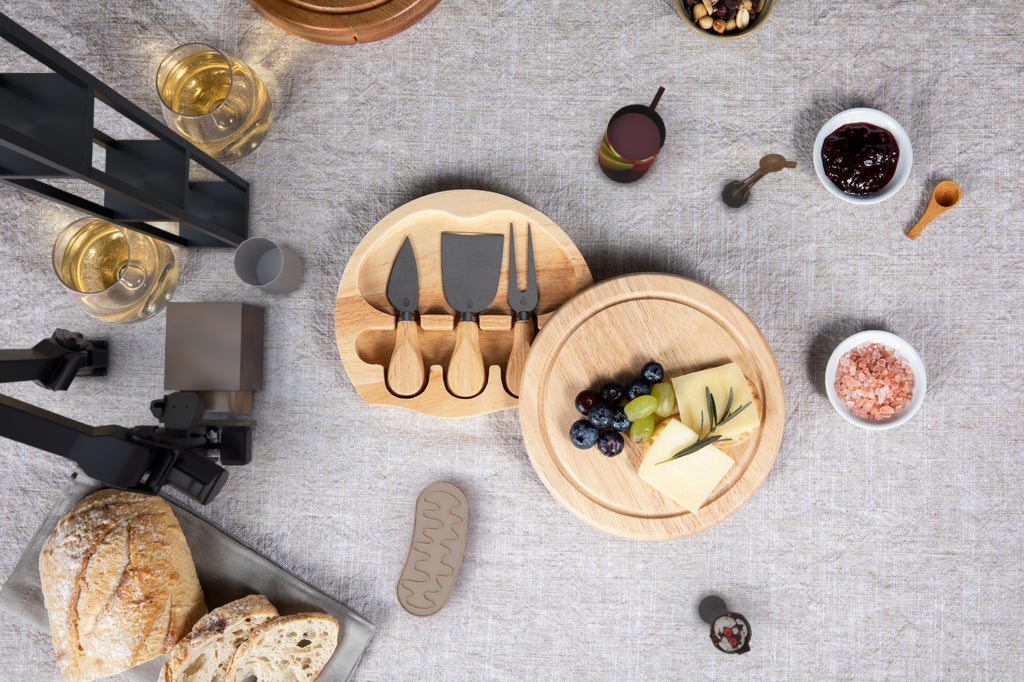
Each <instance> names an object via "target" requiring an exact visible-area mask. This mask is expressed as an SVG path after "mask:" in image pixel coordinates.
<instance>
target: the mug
mask: <svg viewBox="0 0 1024 682" xmlns="http://www.w3.org/2000/svg"><path fill="white" fill-rule="evenodd" d="M665 91H666V88H665V87H664V86H662V85H660V86H659V88H658V90H657V91H656V93H655V95H654V97H653V99H652V100H651V102H650V104H649V106H648V105H645V104H641V103H631V104H627V105H624V106H621V108H619V109H618V110H617V111H615V112H614V113H613V115H612V116H611V117H610V119H609V120H608V122H607V126H606V129H605V131H604V135H603V137H602V141H601V143H600V147H599V149H598V154H597V160H598V165H599V168H600V170H601V171H602V173H603V174H604V175H605V176H606V177H607V178H608V179H609V180H611V181H613V182H615V183H618V184H631V183H635V182H637V181H639V180H641V179H642V178H643V177H644V176H645V175H646V174H647V173H648V171H649V169H650V168H651V166H652V165H653V163H654V162H655V160H656V158H657V157H658V155H659V153H660V152H661V150H662V148H663V147H664V145H665V143H666V139H667V128H666V124H665V122H664V120H663V118H662V116H661V115H660V113H658V112H657V111H656V109H657V107H658V105H659V103H660V101H661V99H662V98H663V97H662V96H663V95H664V93H665Z"/></svg>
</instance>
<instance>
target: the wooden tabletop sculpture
mask: <svg viewBox="0 0 1024 682" xmlns="http://www.w3.org/2000/svg"><path fill="white" fill-rule="evenodd" d="M797 165H798V161H796V160H795V161H794V160H787V159H786V157H785V156H784V155H782V154H780V153H768V154H765V155H763V156H762V157H760V159H759V161H758V167H759V168H757V170H755V171H754V172H753V173H751V174H750V175H749V176H748V177H746V178H744V179H743V180H735V179H734V180H732V181H730V182H728V183H727V184H725V185H724V187H723V188H722V190H721V192H720V194H721V200H722V202H723V203H724V204H725V205H726V206H727V207H728V208H732V209H739V208H741V207H742V206H744V205H746V204H747V203H748V201H749V200H750V196H751V189H752V188H753V187H754V186H755V185H756V184H757V183H758V182H759V181H760V180H762V179H763V178H764V177H765V176H766V175H769V174H770V173H778V172H781V171H783V169H796V168H797Z"/></svg>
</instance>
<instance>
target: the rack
mask: <svg viewBox="0 0 1024 682" xmlns="http://www.w3.org/2000/svg"><path fill="white" fill-rule="evenodd" d="M0 38H2V39H3V40H5V41H6V42H8V43H9V44H11V45H13V46H14V47H16V48H17V49H18V50H21V51H22V52H23V53H25V54H27V55H28V56H30V57H31V58H33V59H34V60H35V61H37V62H39V63H41V64H42V65H44V67H47V68H48V69H50V70H51V71H53V72H0V184H3V185H6V186H9V187H11V188H14V189H17V190H20V191H22V192H25V193H28V194H31V195H33V196H36V197H39V198H41V199H43V200H47V201H49V202H53V203H55V204H58V205H60V206H64V207H67V208H70V209H72V210H75V211H76V212H77V211H78V212H81V213H83V214H86V215H88V216H92V217H95V218H96V219H100V220H102V221H105V222H107V223H111V224H113V225H116V226H119V227H121V228H124V229H127V230H131V231H133V232H135V233H138V234H141V235H144V236H147V237H150V238H152V239H154V240H158V241H160V242H164V243H165V244H169V245H172V246H174V247H177V248H179V249H215V250H217V249H219V250H220V249H221V250H222V249H223V250H224V249H225V250H226V249H228V250H229V249H231V250H234V249H236V250H237V248H238V247H239V246H240V245H241V243H242V242H244V241H246V240H248V239H249V217H250V216H249V214H250V213H249V210H250V182H248V181H247V180H245V179H244V178H243V177H241V176H240V175H239V174H237V173H235V172H234V171H233V170H231V168H228V167H227V166H225V165H224V164H222V163H221V162H220V161H218V160H216V159H215V158H214V157H212V156H211V155H210V154H208V153H207V152H205V150H202V149H201V148H200V147H198V146H196V145H195V144H194V143H192V142H191V141H189V140H188V139H187V138H185V137H183V136H182V135H180V134H178V133H177V132H176V131H174V130H173V129H172V128H170V127H169V126H167V125H166V124H164V123H163V122H161V121H160V120H159V119H157V118H156V117H154V116H153V115H152V114H150V113H149V112H147V111H145V110H144V109H143V108H142V107H140V106H138V105H137V104H136V103H134V102H132V101H131V100H129V98H127V97H125V96H123V95H122V94H121V93H119V92H118V91H116V90H115V89H114V88H113V87H111V86H109V85H108V84H107V83H105V82H104V81H102V80H101V79H99V78H98V77H96V76H95V75H94V74H92V73H91V72H89V71H87V70H86V69H85V68H83V67H82V66H80V65H79V64H77V63H76V62H74V61H73V60H71V59H70V58H69V57H67V56H66V55H65V54H63V53H61V52H60V51H58V50H57V49H56V48H55V47H53V46H51V45H50V44H48V43H47V42H46V41H44V40H43V39H41V38H39V37H38V36H36V35H35V34H33V32H31V31H30V30H28V29H26V27H24V26H22V25H21V24H19V23H17V22H16V21H15V20H13V18H12V17H11V18H10V17H9V16H8V15H6V14H5V13H3V12H2V11H0ZM95 99H96V100H98V101H100V102H102V103H103V104H105V105H106V106H107V107H109V108H111V109H112V110H114V111H115V112H117V113H119V114H120V115H122V116H124V117H125V118H126V119H128V120H129V121H131V122H132V123H134V124H135V125H137V126H139V127H140V128H142V129H143V130H145V131H146V132H148V133H150V134H151V135H153V136H154V137H156V138H158V139H116V138H114V137H112V136H111V135H109V134H107V133H105V132H103V130H100V129H98V128H97V127H95ZM94 145H97V146H98V147H101V148H102V149H104V150H105V161H104V165H105V166H104V171H103V170H101V169H99V168H96V167H94V166H93V157H94V156H93V153H94V152H93V151H94V149H93V148H94ZM191 160H192V161H193V162H195V163H196V164H198V165H200V166H201V167H203V168H205V169H206V170H207V171H208V172H211V173H212V174H214V175H215V176H217V177H218V178H220V179H221V180H190V169H191V167H190V163H191ZM39 179H40V180H39ZM41 180H81V181H84V182H86V183H88V184H90V185H92V186H95V187H97V188H98V189H101V190H103V192H104V193H103V205H102V204H99V203H96V202H94V201H92V200H89V199H88V198H87V199H86V198H84V197H81V196H79V195H76V194H74V193H71V192H69V191H66V190H64V189H61V188H58V187H56V186H54V185H51V184H49V183H46V182H44V181H41ZM150 223H179V225H178V235H177V234H175V233H173V232H170V231H168V230H165V229H162V228H160V227H158V226H154V225H153V224H150Z"/></svg>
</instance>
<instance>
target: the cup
mask: <svg viewBox="0 0 1024 682" xmlns="http://www.w3.org/2000/svg"><path fill="white" fill-rule="evenodd" d="M233 255H234V256H233V259H232V264H233V265H232V266H233V269H234V274H235V276H237V277H238V279H239V280H240V281H241V282H242V283H243V284H245V285H248V286H250V287H252V288H255V289H259V290H261V291H266V292H268V293H272V294H276V295H281V294H282V295H283V294H285V295H286V294H288V293H290V292H292V291H294V290H295V289H297V287H298V286H299V284H300V283H301V282H302V280H303V275H304V272H305V271H304V266H303V262H302V259H301V258H300V257H299V255H298V254H297V253H296V251H293V250H291V249H290V248H287V247H286V246H283V245H281V243H278V242H276V241H274V240H272V239H270V238H268V237H265V236H252V237H250V238H248V240H246V241H244V242H242V243H241V245H240V246H239V247H238V248H237V249H236V250H235V251H234V254H233Z"/></svg>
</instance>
